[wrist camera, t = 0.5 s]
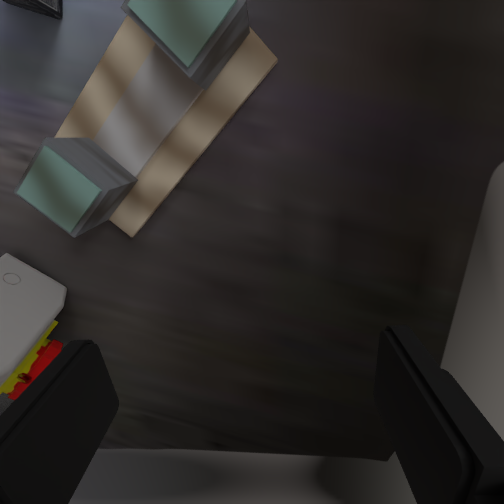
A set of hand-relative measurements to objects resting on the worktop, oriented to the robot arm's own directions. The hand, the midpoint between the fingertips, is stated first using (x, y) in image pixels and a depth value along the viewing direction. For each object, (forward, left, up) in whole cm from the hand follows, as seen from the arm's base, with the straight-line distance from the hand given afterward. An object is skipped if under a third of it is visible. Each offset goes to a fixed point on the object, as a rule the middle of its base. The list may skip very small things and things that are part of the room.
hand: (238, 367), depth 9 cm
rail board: (+2, -16, -30) cm, 33 cm away
